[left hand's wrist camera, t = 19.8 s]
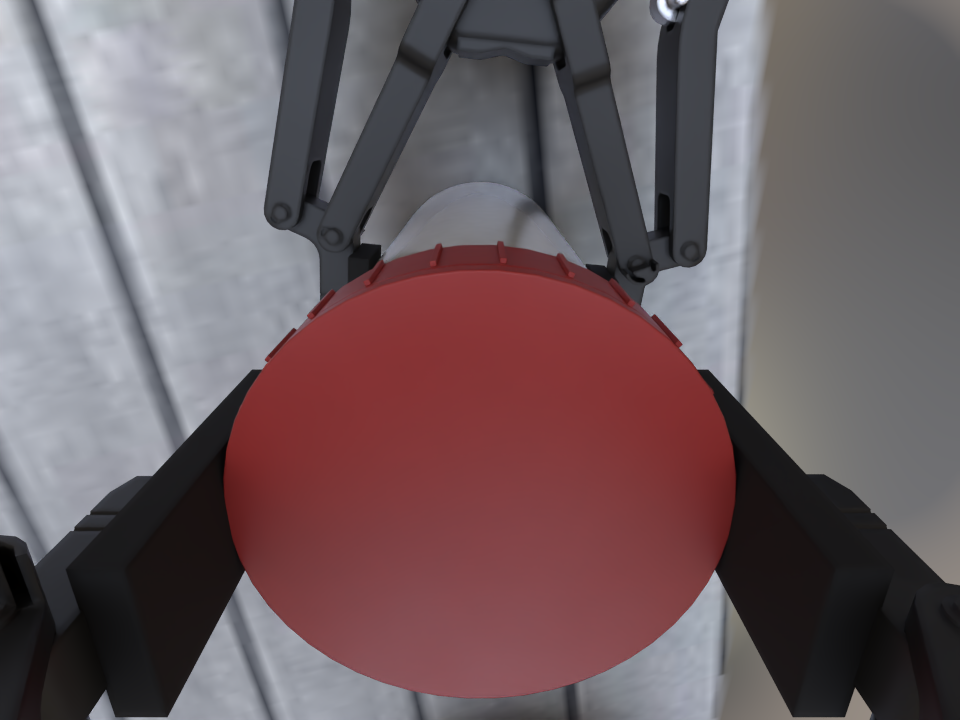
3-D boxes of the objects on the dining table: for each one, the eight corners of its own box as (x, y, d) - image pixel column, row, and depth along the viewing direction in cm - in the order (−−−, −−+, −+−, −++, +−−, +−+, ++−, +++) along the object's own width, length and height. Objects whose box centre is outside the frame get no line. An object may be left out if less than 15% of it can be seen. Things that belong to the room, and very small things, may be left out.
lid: (227, 567, 13) (185, 641, 11) (313, 168, 10) (273, 178, 8) (595, 660, 15) (613, 742, 13) (781, 327, 11) (843, 368, 9)
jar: (576, 325, 30) (715, 614, 12) (422, 360, 31) (344, 680, 13) (545, 162, 27) (669, 230, 9) (375, 205, 28) (190, 346, 10)
